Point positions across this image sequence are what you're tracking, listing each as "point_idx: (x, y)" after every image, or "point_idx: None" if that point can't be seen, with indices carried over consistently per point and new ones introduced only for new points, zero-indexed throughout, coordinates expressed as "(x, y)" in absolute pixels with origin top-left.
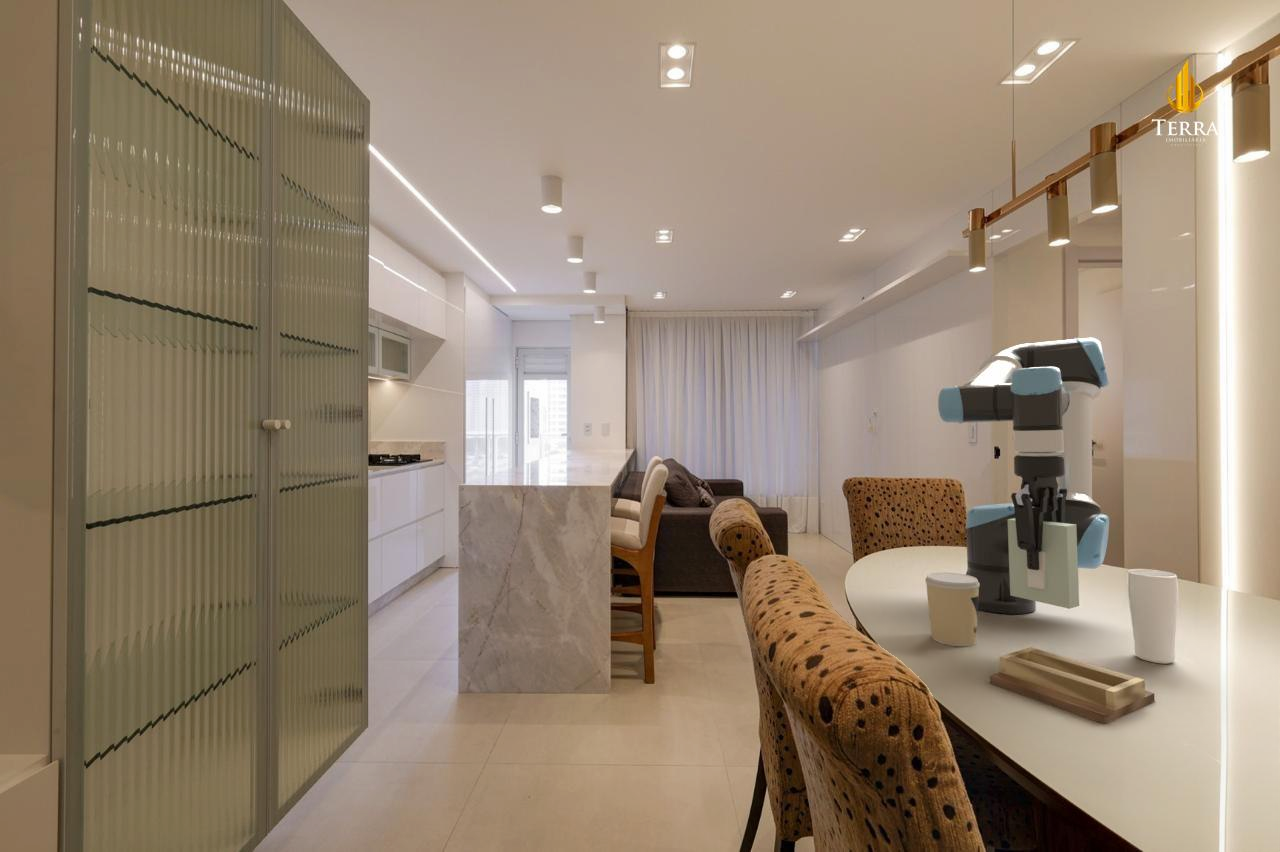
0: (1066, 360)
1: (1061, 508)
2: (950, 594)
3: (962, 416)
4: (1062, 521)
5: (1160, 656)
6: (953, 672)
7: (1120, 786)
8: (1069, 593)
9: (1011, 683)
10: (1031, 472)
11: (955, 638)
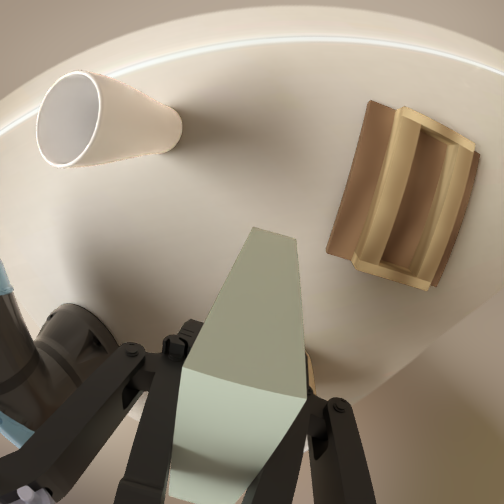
0: None
1: (64, 450)
2: None
3: None
4: (91, 401)
5: (177, 116)
6: (417, 324)
7: None
8: (294, 250)
9: (447, 259)
10: None
11: (310, 362)
